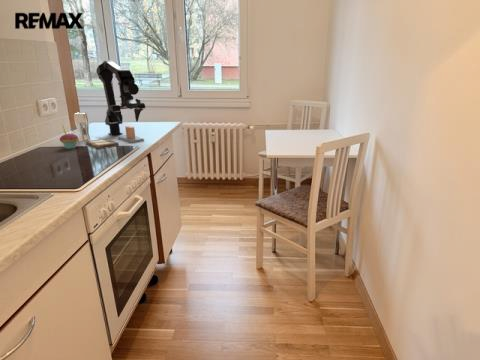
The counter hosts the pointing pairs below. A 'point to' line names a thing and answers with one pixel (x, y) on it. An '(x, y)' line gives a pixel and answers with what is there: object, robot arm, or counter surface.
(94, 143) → the block
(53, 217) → the counter surface
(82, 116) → the beer glass
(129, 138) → the gray plate with block
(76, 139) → the cupcake
